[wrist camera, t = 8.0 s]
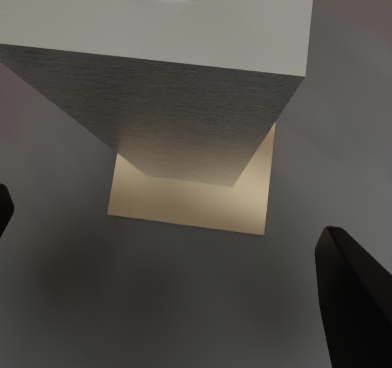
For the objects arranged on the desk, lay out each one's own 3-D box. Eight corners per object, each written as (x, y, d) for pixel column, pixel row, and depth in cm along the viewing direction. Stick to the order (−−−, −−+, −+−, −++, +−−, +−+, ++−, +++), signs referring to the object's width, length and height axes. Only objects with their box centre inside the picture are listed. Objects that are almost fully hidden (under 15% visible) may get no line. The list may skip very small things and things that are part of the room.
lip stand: (260, 234, 18) (271, 237, 15) (112, 215, 18) (93, 213, 15) (280, 47, 19) (293, 14, 16) (142, 33, 20) (131, -1, 17)
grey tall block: (232, 187, 17) (321, 52, 4) (146, 176, 17) (-63, 12, 4) (242, 104, 18) (350, -271, 4) (159, 94, 18) (17, -285, 5)
